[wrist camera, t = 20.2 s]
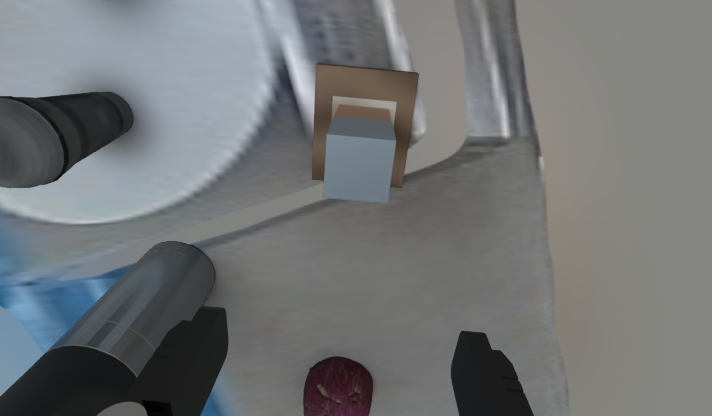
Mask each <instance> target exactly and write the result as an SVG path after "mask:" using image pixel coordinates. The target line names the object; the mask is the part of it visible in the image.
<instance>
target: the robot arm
mask: <svg viewBox="0 0 712 416" xmlns="http://www.w3.org/2000/svg"><path fill="white" fill-rule="evenodd" d="M214 281H215V272H214V269H213V266H212V264H211V263H210V261H209V259H208V258H207V257H206V256H205V255H204V254H203V253H202V252H201V251H199V250H198V249H196V248H195V247H193V246H191V245H188V244H186V243H182V242H177V241H166V242H161V243H159V244H157V245H155V246H153V247H152V248H151V249H150V250H149V251H148V252H147V253H146V254H145V255H144V256H143V257H142V258H141V259H140V260H139V261H138V262H137V263H135V264H134V265H133V266H132V267H131V268H130V269H129V270H128V271H127V272H126V273H125V274H124V275H123V276H122V277H121V278H120V279H119V280H118V281H117V282H116V283H115V284H114V285H113V286H112V287H111V288H110V289H109V290H108V291H107V292H106V293H105V294H104V295H103V296H102V297H101V298H100V299H99V300H98V301H97V302H96V303H95V304H94V305H93V306H92V307H91V308H90V309H89V310H88V311H87V312H86V313H85V314H84V315H83V316H82V317H81V318H80V319H79V320H78V321H77V322H76V323H75V324H74V325H73V326H72V327H71V328H70V329H69V330H68V331H67V332H66V333H65V334H64V335H63V336H62V337H61V338H60V339H59V340H58V341H57V342H56V343H55V344H54V345H53V346H52V347H51V348H50V349H49V350H48V351H47V352H46V353H45V354H44V355H43V356H42V357H41V358H40V359H39V360H38V361H37V362H36V363H35V364H34V365H33V366H32V367H31V368H30V369H29V370H28V371H27V372H26V373H25V374H24V375H23V376H22V377H20V378H19V379H18V380H17V381H16V382H15V383H14V384H13V385H12V386H11V387H10V388H9V389H8V390H7V391H6V392H5V393H4V394H2V395H1V396H0V416H200V415H201V413H202V410H203V408H204V406H205V404H206V401H207V399H208V397H209V395H210V392H211V390H212V388H213V386H214V383H215V381H216V379H217V377H218V374H219V372H220V370H221V368H222V365H223V363H224V361H225V358H226V355H227V351H228V330H227V319H226V310H225V308H220V307H209V306H203V305H204V303H205V302H206V297H207V295H208V294H209V292H210V290H211V289H212V287H213V285H214ZM451 379H452V385H453V389H454V394H455V398H456V403H457V407H458V412H459V416H534V415H533V413H532V410H531V408H530V405H529V403H528V401H527V398H526V396H525V394H524V393H523V389H522V386H521V384H520V381H518V377H517V374H516V372H515V369H514V367H513V365H512V363H511V362H510V361H509V360H508V358H507V357H506V356H505V355H504V354H503V353H502V352H501V351H500V350H492V349H491V346H490V344H489V341H488V338H487V336H486V334H485V333H481V332H470V331H461V332H460V335H459V338H458V342H457V346H456V349H455V353H454V357H453V360H452V365H451Z"/></svg>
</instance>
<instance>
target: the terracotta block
mask: <svg viewBox="0 0 712 416" xmlns="http://www.w3.org/2000/svg"><path fill="white" fill-rule="evenodd" d="M334 116H336V117H346V118H356V119H367V120H377V121H388V122H391V117H390V112H389V109H385V108H375V107H364V106H354V105H344V104H339V106H338V108H337V111H336V113H335V115H334Z"/></svg>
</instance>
